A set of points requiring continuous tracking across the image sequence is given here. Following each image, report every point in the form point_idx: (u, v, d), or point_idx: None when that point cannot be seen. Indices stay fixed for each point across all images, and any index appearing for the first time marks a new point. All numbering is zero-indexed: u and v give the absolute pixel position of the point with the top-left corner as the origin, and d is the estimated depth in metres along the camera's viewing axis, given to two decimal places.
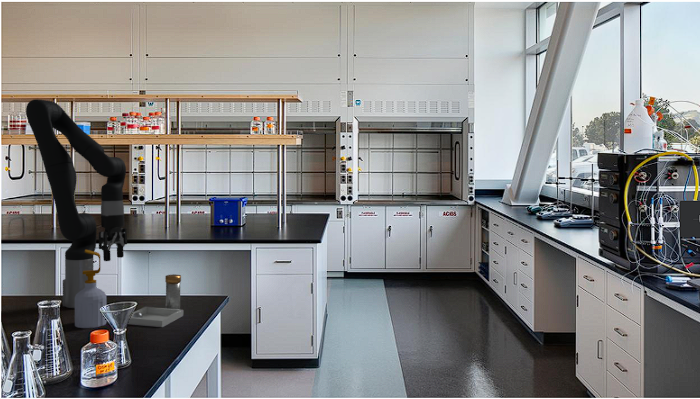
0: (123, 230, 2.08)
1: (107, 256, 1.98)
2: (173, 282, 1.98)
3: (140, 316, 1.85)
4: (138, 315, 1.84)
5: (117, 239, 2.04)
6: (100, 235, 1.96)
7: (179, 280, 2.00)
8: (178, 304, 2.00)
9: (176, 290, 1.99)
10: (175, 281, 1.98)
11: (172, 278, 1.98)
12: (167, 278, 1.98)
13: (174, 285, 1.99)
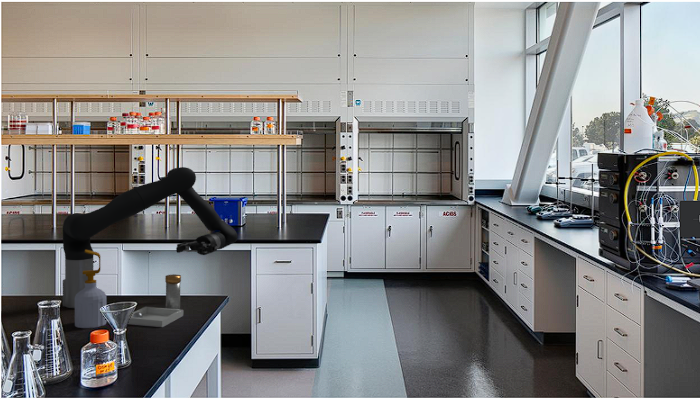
0: None
1: (202, 252, 2.11)
2: (173, 282, 1.98)
3: (140, 316, 1.85)
4: (138, 315, 1.84)
5: (194, 250, 2.18)
6: (216, 246, 2.18)
7: (179, 280, 2.00)
8: (178, 304, 2.00)
9: (176, 290, 1.99)
10: (175, 281, 1.98)
11: (172, 278, 1.98)
12: (167, 278, 1.98)
13: (174, 285, 1.99)
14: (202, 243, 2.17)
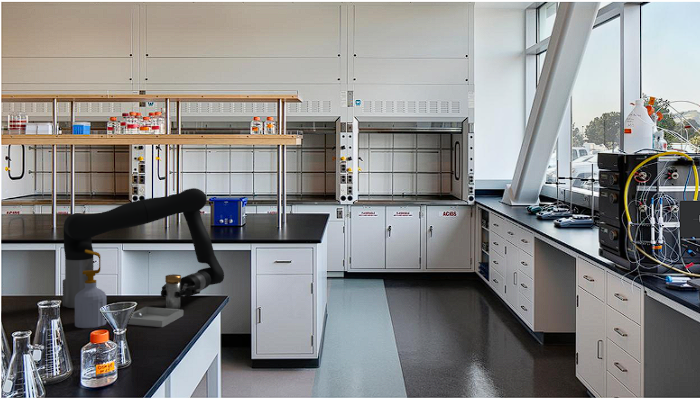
0: None
1: (180, 295, 1.99)
2: (173, 282, 1.98)
3: (140, 316, 1.85)
4: (138, 315, 1.84)
5: None
6: (198, 288, 2.06)
7: (179, 280, 2.00)
8: (178, 304, 2.00)
9: (176, 290, 1.99)
10: (175, 281, 1.98)
11: (172, 278, 1.98)
12: (167, 278, 1.98)
13: (174, 285, 1.99)
14: (183, 285, 2.05)
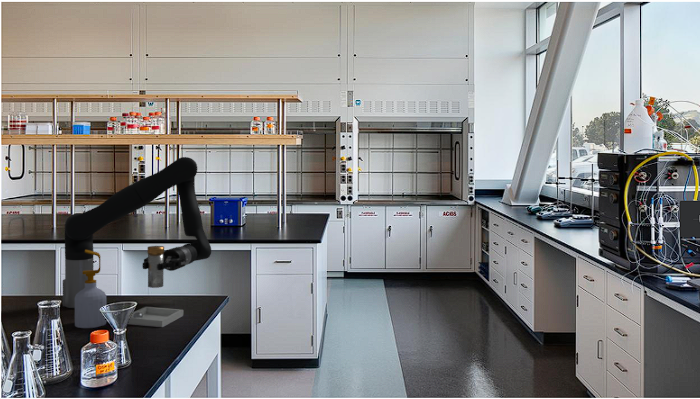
0: None
1: None
2: (156, 253, 1.86)
3: (140, 316, 1.85)
4: (138, 315, 1.84)
5: None
6: (183, 261, 1.93)
7: (162, 251, 1.87)
8: (161, 277, 1.88)
9: (159, 262, 1.87)
10: (158, 252, 1.86)
11: (155, 249, 1.85)
12: (149, 249, 1.86)
13: (157, 257, 1.86)
14: (167, 258, 1.93)
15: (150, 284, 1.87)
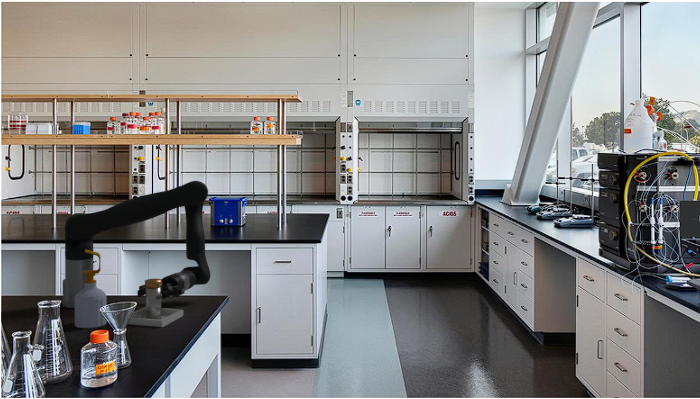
0: None
1: (167, 296, 1.87)
2: (153, 287, 1.85)
3: (140, 316, 1.85)
4: (138, 315, 1.84)
5: None
6: (183, 288, 1.94)
7: (159, 284, 1.87)
8: (159, 310, 1.87)
9: (157, 295, 1.86)
10: (155, 286, 1.86)
11: (152, 282, 1.85)
12: (146, 283, 1.86)
13: (154, 290, 1.86)
14: (167, 285, 1.92)
15: (148, 317, 1.86)
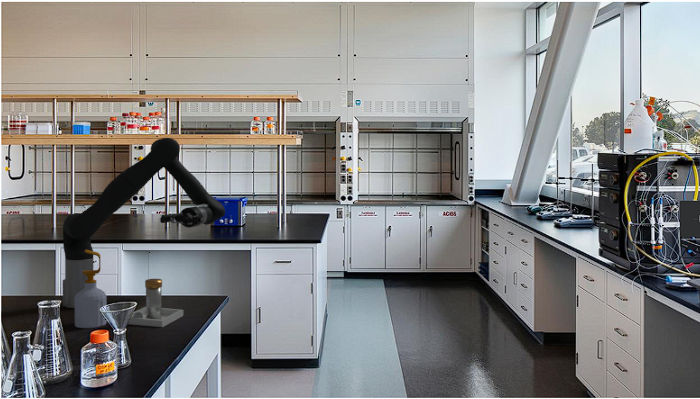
0: None
1: (188, 222, 2.03)
2: (153, 287, 1.85)
3: (140, 316, 1.85)
4: (138, 315, 1.84)
5: (179, 221, 2.10)
6: (202, 217, 2.10)
7: (160, 285, 1.87)
8: (159, 310, 1.87)
9: (157, 295, 1.86)
10: (156, 286, 1.85)
11: (153, 283, 1.85)
12: (147, 283, 1.85)
13: (155, 290, 1.86)
14: (187, 214, 2.09)
15: (148, 317, 1.86)
